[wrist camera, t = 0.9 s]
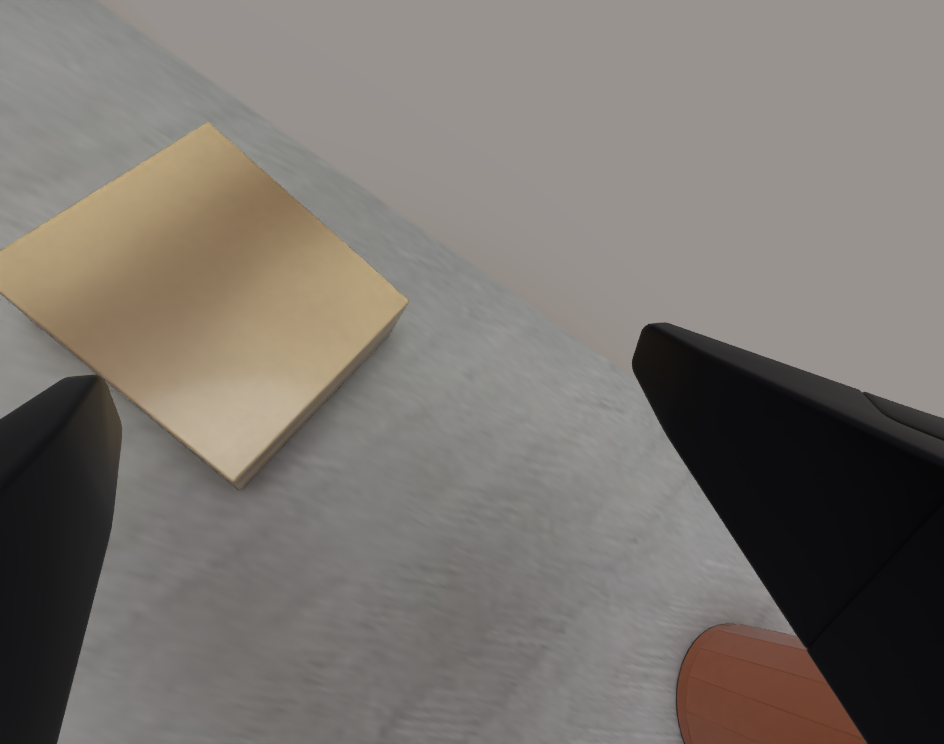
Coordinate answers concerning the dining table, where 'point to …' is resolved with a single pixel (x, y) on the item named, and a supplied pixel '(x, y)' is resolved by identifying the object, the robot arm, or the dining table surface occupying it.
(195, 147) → the stand
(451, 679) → the dining table surface
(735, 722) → the cup
